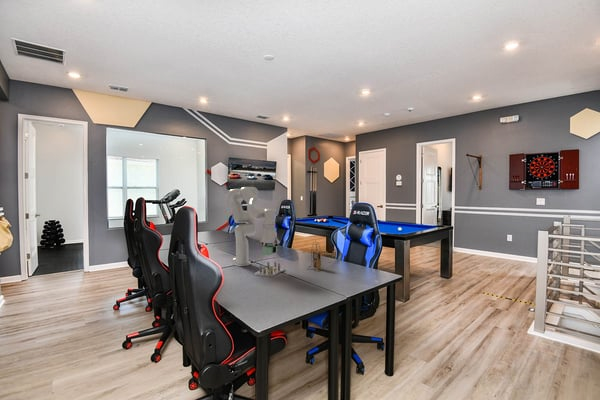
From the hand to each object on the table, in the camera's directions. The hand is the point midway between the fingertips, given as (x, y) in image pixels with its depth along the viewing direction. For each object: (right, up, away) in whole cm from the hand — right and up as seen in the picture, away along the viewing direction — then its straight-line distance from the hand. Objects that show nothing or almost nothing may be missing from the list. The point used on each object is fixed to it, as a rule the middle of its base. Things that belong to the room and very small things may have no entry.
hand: (270, 251), depth 203 cm
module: (0, -1, 0) cm, 1 cm away
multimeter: (+30, -14, +8) cm, 35 cm away
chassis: (0, -15, +1) cm, 15 cm away
